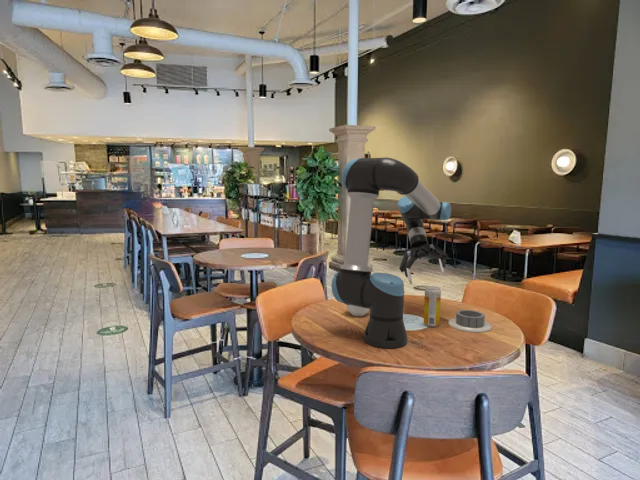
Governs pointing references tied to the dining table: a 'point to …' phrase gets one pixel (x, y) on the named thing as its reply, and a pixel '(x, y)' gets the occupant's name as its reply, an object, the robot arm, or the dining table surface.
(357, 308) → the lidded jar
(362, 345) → the dining table surface
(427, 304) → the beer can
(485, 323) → the collar stand
